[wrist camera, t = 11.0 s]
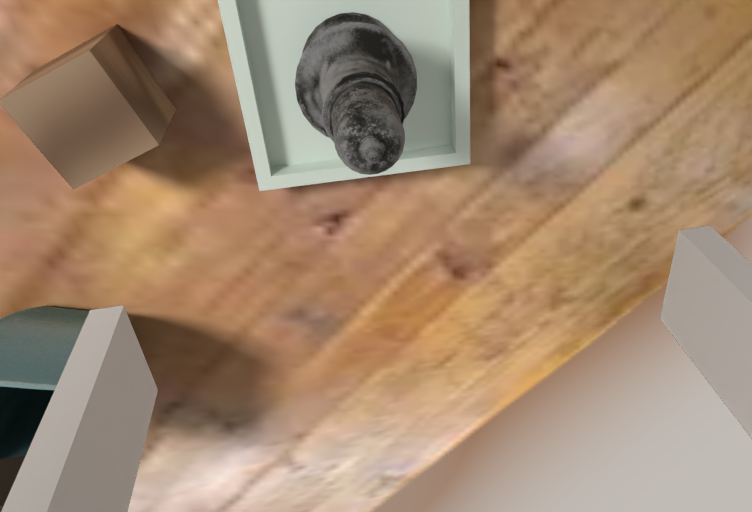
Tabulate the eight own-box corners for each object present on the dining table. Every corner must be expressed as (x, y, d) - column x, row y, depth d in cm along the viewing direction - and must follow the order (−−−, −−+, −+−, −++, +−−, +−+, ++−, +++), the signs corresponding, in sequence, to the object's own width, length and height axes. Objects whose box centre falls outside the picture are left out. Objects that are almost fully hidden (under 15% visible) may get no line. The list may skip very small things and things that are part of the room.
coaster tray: (213, -50, 30) (208, -44, 28) (459, -78, 30) (468, -74, 29) (261, 175, 36) (259, 191, 35) (462, 149, 37) (470, 164, 35)
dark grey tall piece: (311, 129, 34) (316, 243, 24) (281, 21, 31) (272, 102, 21) (415, 104, 34) (463, 209, 24) (395, -7, 31) (441, 61, 21)
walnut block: (36, 69, 32) (-3, 101, 28) (117, 23, 31) (89, 50, 27) (100, 148, 35) (73, 189, 30) (176, 108, 34) (159, 145, 30)
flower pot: (2, 275, 38) (-69, 377, 31) (151, 290, 40) (117, 391, 33) (15, 378, 43) (-45, 489, 35) (149, 388, 45) (118, 496, 37)
